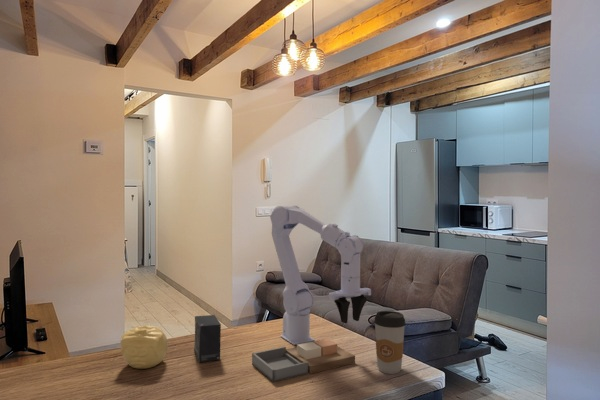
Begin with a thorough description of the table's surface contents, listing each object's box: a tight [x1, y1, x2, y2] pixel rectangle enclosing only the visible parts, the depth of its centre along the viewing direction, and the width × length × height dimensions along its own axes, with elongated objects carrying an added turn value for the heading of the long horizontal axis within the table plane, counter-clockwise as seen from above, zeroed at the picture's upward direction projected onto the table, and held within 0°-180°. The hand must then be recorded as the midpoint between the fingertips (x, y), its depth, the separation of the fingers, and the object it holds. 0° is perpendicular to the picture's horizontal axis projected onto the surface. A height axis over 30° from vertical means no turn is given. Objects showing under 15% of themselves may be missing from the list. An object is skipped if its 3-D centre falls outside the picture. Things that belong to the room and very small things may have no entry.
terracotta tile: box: [312, 338, 338, 356], centre depth 120 cm, size 5×5×2 cm
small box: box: [193, 314, 222, 363], centre depth 121 cm, size 11×6×10 cm, turn 22°
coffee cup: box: [374, 310, 406, 375], centre depth 113 cm, size 8×8×15 cm
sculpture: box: [120, 325, 168, 370], centre depth 115 cm, size 11×12×11 cm
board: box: [286, 345, 356, 375], centre depth 119 cm, size 14×15×2 cm
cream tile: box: [296, 341, 321, 359], centre depth 117 cm, size 5×5×2 cm
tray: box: [251, 346, 309, 383], centre depth 112 cm, size 13×10×3 cm
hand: (350, 321), depth 124 cm, fingers open, 4 cm apart
